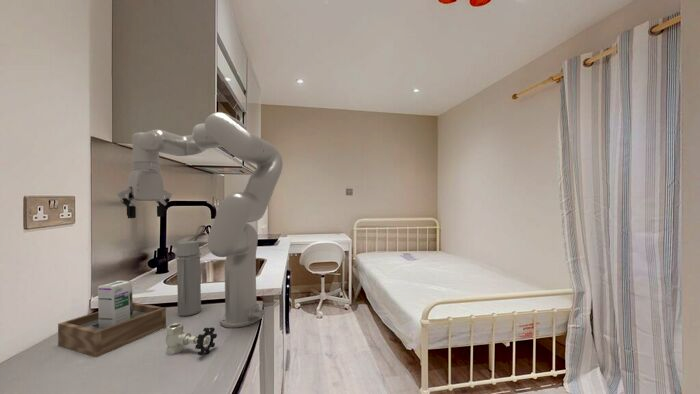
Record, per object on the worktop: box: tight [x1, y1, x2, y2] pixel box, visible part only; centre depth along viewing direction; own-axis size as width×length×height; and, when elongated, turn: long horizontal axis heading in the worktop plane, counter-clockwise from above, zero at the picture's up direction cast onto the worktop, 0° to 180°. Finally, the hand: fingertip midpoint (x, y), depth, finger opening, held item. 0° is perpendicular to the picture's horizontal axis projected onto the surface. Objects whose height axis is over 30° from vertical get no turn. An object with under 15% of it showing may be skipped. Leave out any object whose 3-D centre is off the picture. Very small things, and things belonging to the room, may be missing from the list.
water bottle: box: [175, 240, 202, 317], centre depth 98 cm, size 9×8×25 cm
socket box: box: [57, 302, 167, 358], centre depth 82 cm, size 18×18×6 cm
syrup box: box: [97, 280, 134, 329], centre depth 83 cm, size 6×6×14 cm
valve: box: [165, 322, 218, 356], centre depth 72 cm, size 7×7×12 cm
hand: (146, 217), depth 97 cm, fingers open, 9 cm apart
